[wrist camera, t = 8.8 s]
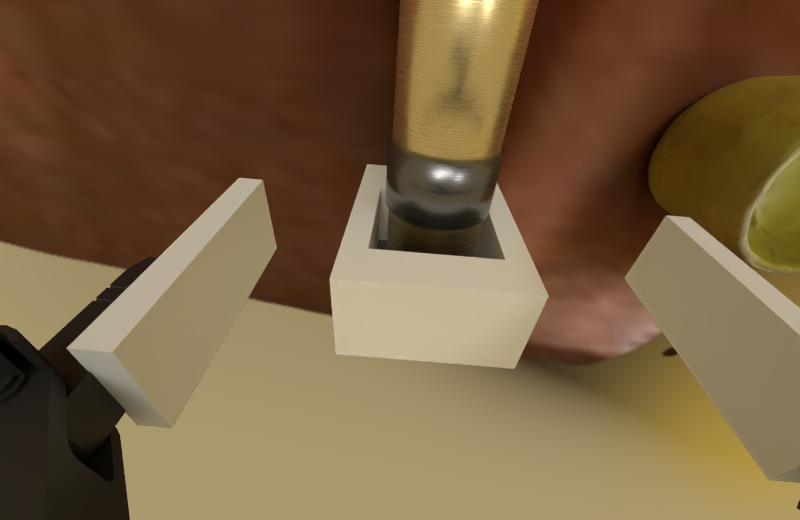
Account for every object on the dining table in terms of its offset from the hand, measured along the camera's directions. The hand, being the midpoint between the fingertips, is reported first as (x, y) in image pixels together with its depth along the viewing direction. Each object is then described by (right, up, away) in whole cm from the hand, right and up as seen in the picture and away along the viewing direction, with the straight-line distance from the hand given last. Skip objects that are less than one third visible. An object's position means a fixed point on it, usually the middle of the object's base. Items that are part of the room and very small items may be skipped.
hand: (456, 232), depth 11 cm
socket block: (0, +3, +14) cm, 14 cm away
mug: (+20, +7, +10) cm, 24 cm away
